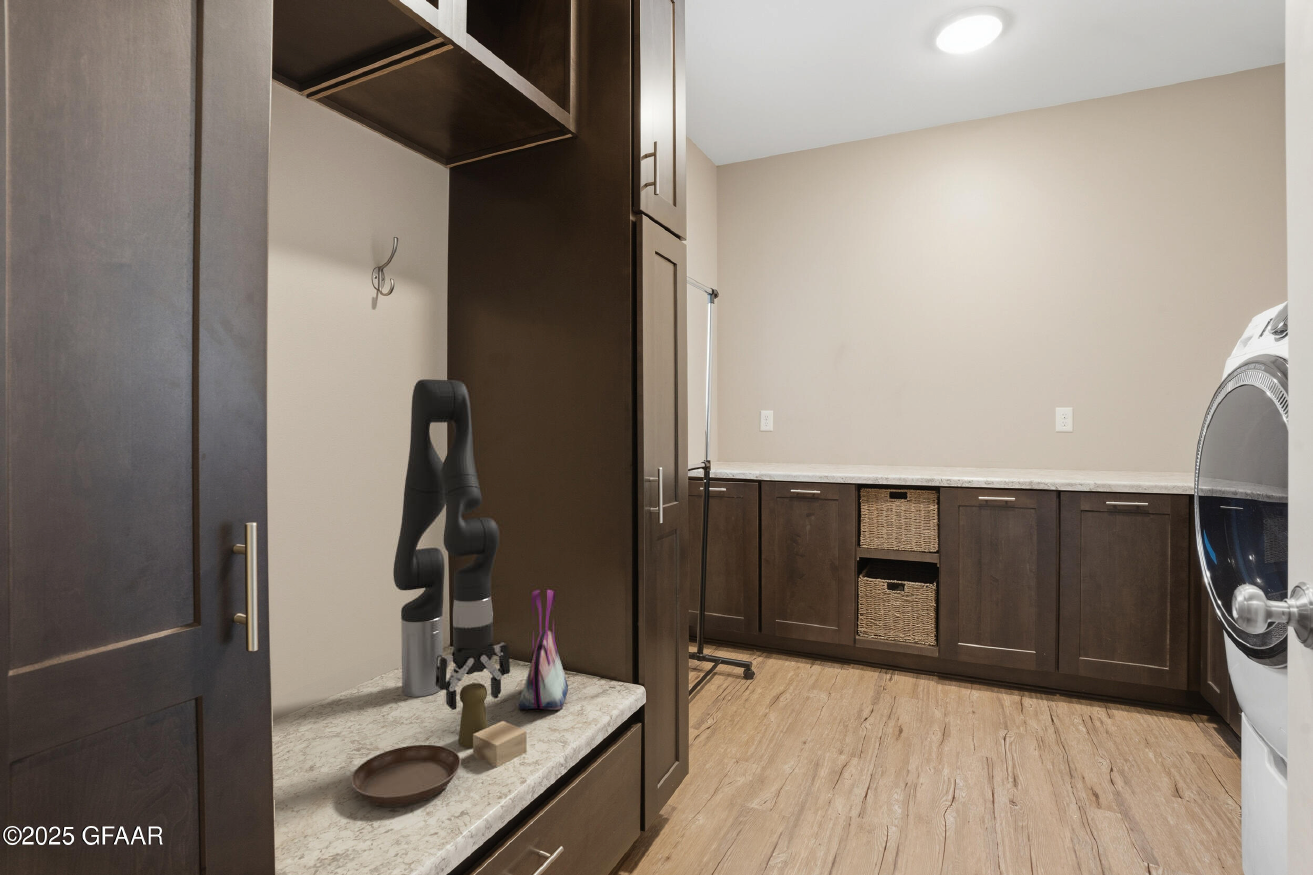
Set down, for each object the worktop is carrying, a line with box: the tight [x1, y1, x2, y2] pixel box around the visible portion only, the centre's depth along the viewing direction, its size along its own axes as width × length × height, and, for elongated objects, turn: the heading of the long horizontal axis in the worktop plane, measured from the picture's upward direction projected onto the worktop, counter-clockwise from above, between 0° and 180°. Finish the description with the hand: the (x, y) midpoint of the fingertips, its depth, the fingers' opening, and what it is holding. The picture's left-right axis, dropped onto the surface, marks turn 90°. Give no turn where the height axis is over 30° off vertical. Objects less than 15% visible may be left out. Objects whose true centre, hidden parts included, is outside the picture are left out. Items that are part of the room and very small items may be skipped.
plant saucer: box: [350, 744, 462, 807], centre depth 113 cm, size 18×18×3 cm
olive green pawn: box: [457, 682, 489, 749], centre depth 128 cm, size 6×6×11 cm
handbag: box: [518, 589, 569, 711], centre depth 147 cm, size 21×10×25 cm, turn 1°
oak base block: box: [472, 720, 528, 768], centre depth 123 cm, size 7×7×4 cm
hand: (474, 702), depth 128 cm, fingers open, 8 cm apart
